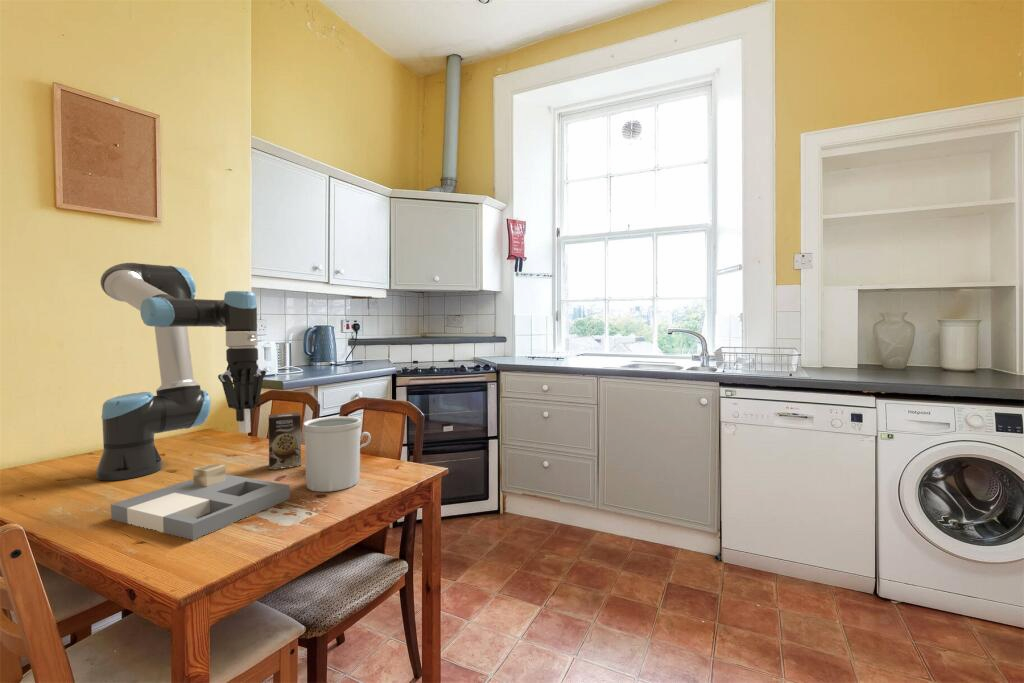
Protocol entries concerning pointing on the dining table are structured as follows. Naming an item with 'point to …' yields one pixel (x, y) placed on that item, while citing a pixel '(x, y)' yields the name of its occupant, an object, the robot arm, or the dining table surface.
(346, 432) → the utensil holder
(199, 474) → the birch block
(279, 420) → the coffee box
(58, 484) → the dining table surface
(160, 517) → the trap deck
